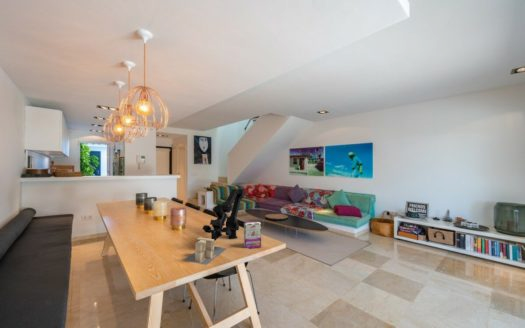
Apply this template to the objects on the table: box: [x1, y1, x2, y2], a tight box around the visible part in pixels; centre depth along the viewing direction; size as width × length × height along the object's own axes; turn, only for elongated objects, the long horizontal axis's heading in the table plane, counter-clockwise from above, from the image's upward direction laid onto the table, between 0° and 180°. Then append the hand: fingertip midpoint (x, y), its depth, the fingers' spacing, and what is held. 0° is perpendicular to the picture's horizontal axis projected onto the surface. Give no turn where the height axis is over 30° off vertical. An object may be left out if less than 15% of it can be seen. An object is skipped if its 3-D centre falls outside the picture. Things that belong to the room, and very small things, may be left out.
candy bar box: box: [243, 221, 262, 249], centre depth 144 cm, size 11×5×16 cm, turn 105°
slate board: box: [182, 246, 227, 266], centre depth 130 cm, size 24×16×1 cm, turn 162°
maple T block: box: [194, 237, 215, 262], centre depth 124 cm, size 9×10×10 cm
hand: (211, 242), depth 134 cm, fingers closed
